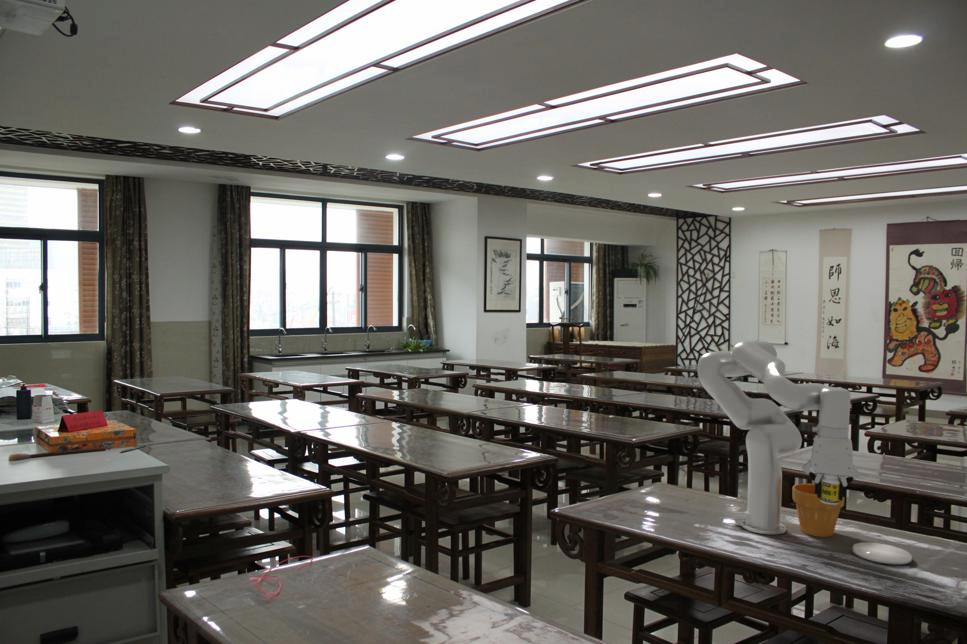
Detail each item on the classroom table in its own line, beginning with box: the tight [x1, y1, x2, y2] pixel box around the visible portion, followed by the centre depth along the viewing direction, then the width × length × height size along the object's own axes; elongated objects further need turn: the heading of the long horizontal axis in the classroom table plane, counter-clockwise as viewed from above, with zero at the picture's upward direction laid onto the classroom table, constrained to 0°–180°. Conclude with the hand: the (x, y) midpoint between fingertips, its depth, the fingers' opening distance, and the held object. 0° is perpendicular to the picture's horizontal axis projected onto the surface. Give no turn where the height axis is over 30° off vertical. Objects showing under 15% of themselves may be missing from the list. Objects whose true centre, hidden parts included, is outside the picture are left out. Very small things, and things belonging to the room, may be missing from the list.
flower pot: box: [791, 483, 846, 538], centre depth 216 cm, size 14×14×13 cm
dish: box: [852, 542, 913, 565], centre depth 196 cm, size 14×14×2 cm
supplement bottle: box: [820, 474, 841, 505], centre depth 198 cm, size 5×5×8 cm
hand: (829, 497), depth 198 cm, fingers closed on supplement bottle, 4 cm apart
